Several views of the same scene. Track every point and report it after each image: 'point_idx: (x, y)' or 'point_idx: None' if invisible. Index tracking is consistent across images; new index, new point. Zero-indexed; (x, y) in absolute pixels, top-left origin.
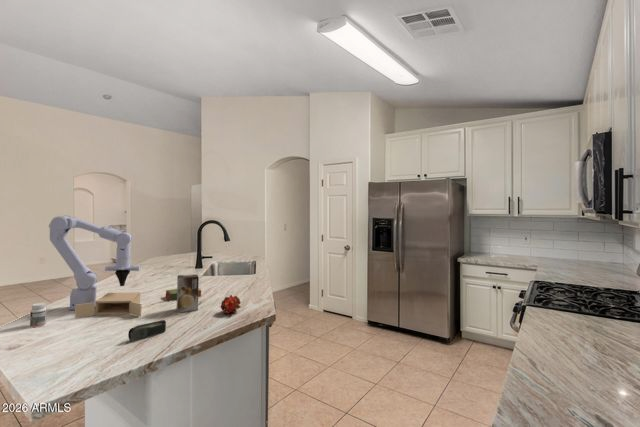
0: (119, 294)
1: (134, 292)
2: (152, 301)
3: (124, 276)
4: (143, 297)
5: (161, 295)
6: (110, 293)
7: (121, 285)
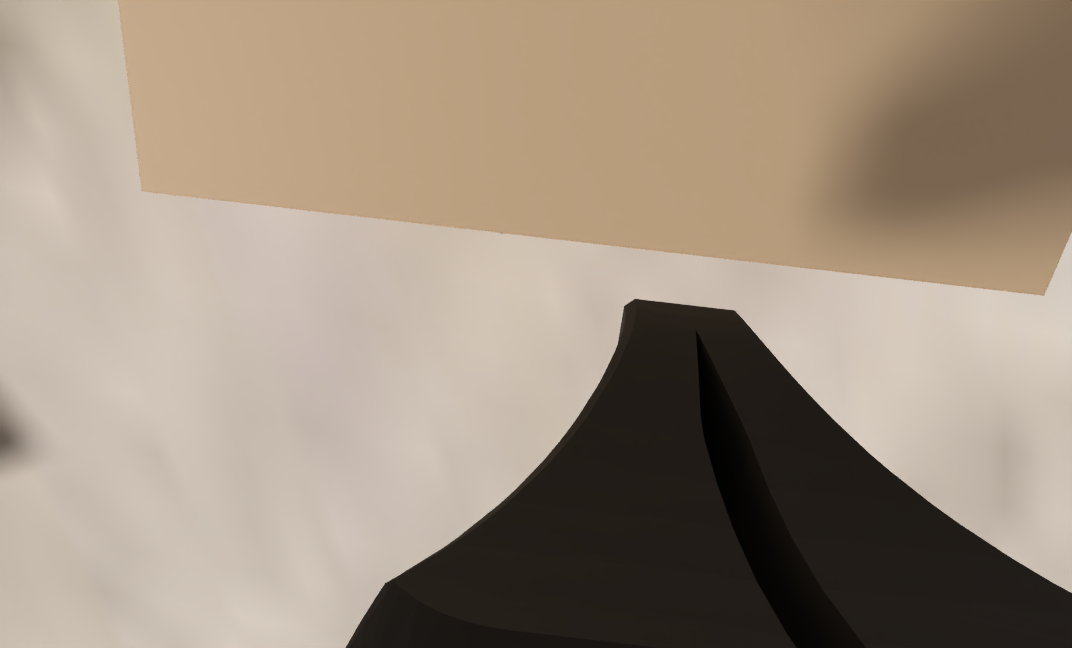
0: (700, 34)
1: (303, 197)
2: (78, 252)
3: (560, 503)
4: (341, 529)
5: (69, 577)
6: (975, 218)
7: (689, 311)
